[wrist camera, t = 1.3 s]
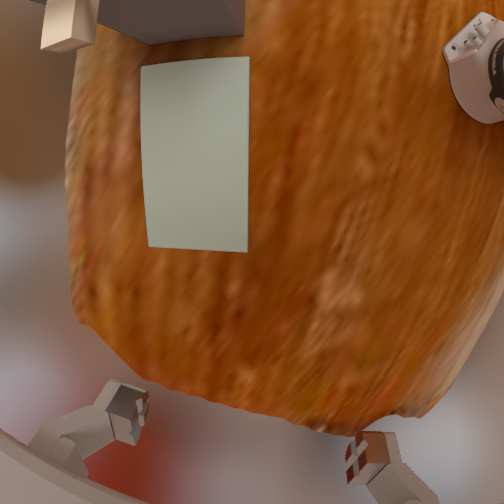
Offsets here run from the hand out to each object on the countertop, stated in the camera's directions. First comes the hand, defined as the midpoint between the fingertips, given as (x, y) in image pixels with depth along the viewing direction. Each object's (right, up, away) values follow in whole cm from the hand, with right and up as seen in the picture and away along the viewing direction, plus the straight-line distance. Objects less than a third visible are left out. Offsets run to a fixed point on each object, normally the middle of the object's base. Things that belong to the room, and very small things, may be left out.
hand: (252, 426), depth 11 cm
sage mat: (-9, +22, +39) cm, 46 cm away
